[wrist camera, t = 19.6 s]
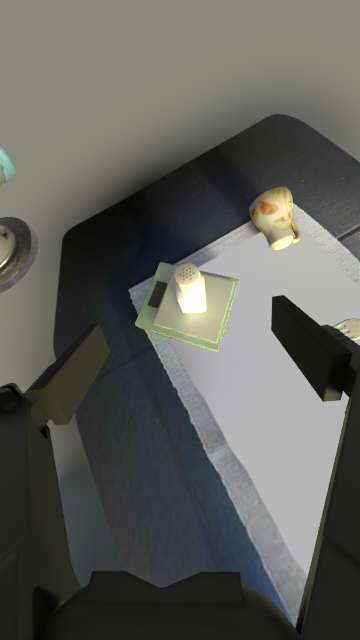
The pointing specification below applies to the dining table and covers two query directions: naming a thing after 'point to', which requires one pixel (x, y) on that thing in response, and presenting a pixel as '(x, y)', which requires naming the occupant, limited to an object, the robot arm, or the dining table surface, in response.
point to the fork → (350, 328)
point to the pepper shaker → (190, 288)
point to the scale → (191, 328)
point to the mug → (275, 217)
